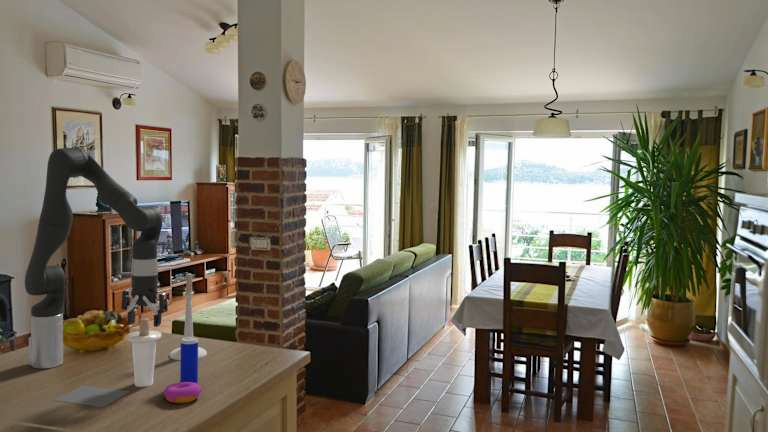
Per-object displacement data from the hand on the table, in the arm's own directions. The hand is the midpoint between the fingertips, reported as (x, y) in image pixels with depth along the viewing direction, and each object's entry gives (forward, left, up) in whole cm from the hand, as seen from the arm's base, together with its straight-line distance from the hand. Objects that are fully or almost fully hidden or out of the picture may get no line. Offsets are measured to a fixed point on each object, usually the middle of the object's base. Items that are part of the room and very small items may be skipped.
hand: (144, 324), depth 184 cm
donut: (+17, -6, -20) cm, 26 cm away
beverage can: (+13, +4, -19) cm, 24 cm away
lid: (0, 0, -4) cm, 4 cm away
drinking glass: (0, 0, -19) cm, 19 cm away
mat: (-8, -13, -19) cm, 24 cm away
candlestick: (-3, +31, -19) cm, 37 cm away
